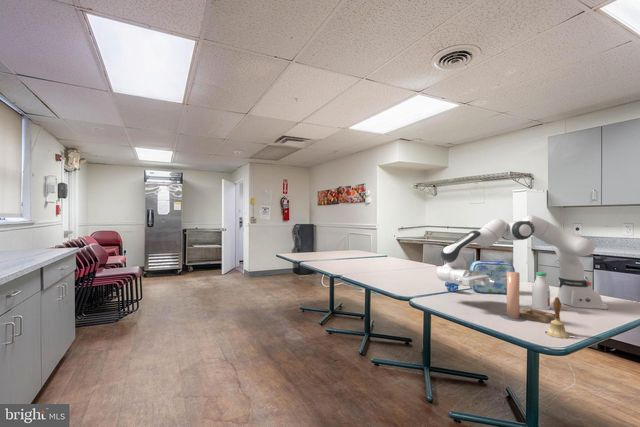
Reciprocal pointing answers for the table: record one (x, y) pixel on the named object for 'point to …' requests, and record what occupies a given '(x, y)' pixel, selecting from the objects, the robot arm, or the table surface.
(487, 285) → the lunch box
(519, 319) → the disc
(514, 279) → the tall peach cylinder
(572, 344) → the table surface
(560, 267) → the robot arm
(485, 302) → the table surface
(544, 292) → the milk bottle
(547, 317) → the pocket block
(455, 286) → the grapes
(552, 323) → the hand bell
